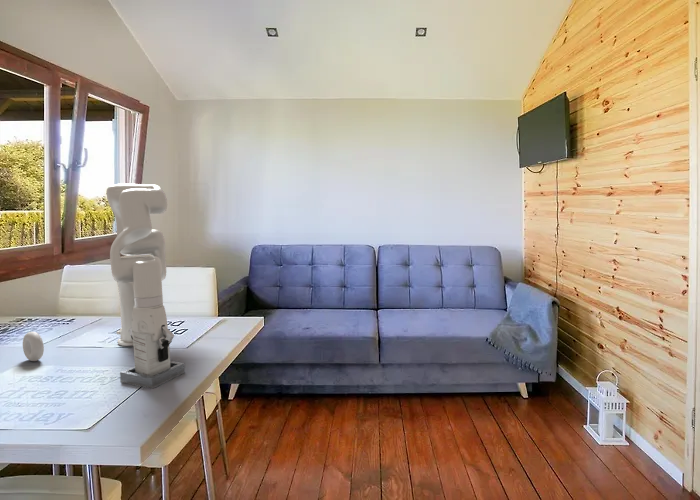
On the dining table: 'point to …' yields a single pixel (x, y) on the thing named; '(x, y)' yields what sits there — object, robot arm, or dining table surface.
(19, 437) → the dining table surface
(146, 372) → the supplement box
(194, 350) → the dining table surface
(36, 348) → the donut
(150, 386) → the locating frame
